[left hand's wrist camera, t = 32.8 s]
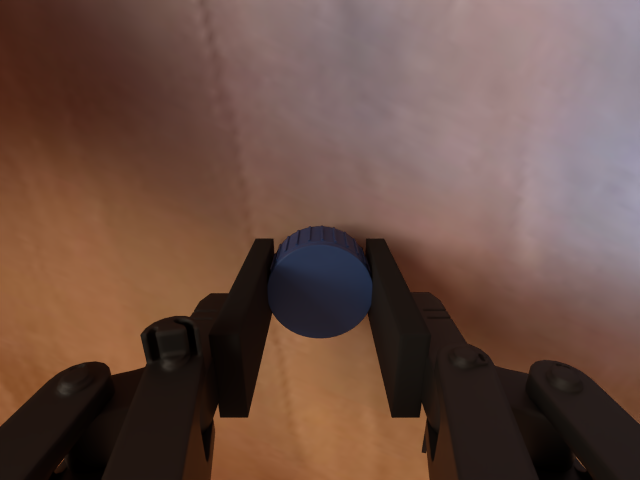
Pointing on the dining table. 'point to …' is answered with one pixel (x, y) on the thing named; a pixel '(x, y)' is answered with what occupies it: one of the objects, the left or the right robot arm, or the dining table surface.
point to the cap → (319, 283)
